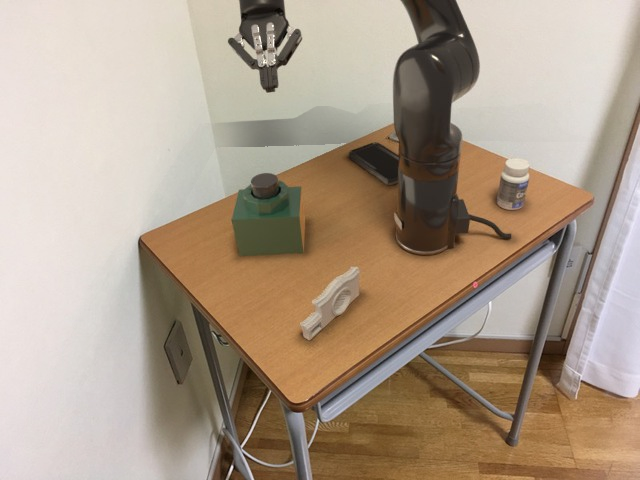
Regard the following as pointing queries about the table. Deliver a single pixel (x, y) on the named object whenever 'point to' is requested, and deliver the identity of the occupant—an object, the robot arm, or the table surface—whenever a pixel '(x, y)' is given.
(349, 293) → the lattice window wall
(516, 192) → the pill bottle
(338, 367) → the table surface
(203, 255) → the table surface
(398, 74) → the robot arm
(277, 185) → the dark push button
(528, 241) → the table surface
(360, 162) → the phone
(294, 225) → the dispenser
